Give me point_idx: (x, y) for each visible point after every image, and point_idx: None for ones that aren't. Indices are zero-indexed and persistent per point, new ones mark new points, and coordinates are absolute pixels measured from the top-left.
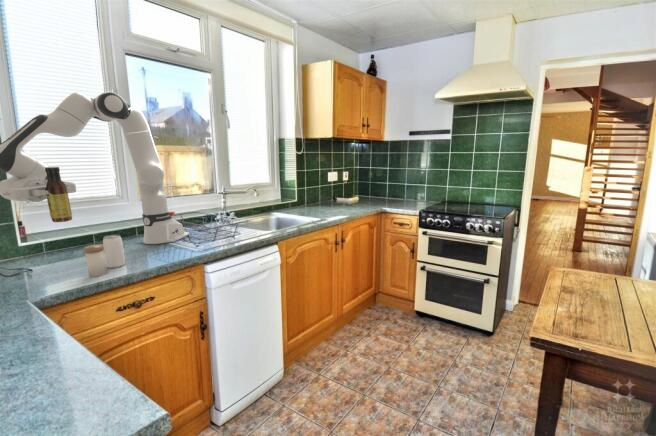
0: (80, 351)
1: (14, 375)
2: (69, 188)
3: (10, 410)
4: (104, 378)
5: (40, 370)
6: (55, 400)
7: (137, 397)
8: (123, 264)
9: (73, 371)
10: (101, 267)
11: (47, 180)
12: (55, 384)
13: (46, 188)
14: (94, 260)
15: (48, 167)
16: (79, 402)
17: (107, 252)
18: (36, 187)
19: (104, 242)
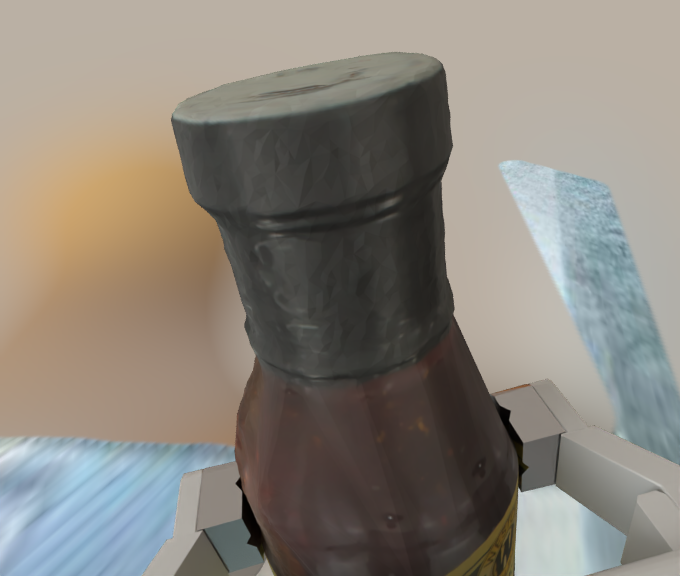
0: (535, 234)
1: (614, 230)
2: (204, 471)
3: (607, 196)
4: (522, 195)
5: (583, 226)
6: (568, 191)
7: (505, 174)
8: None
9: (548, 212)
10: None
11: (456, 333)
12: (567, 205)
13: (499, 422)
14: None
15: (372, 67)
16: (548, 184)
17: None
18: (675, 561)
19: None
